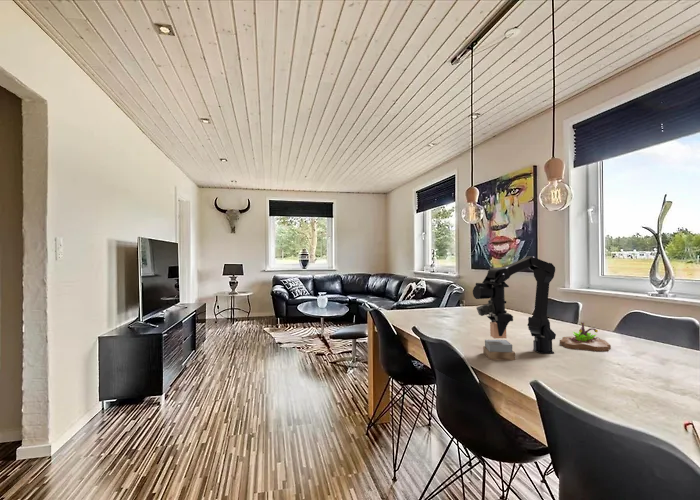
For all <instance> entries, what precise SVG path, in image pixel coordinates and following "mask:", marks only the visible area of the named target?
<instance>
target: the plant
mask: <svg viewBox="0 0 700 500" xmlns="http://www.w3.org/2000/svg"><path fill="white" fill-rule="evenodd" d="M580 325H581V327H580V329H579V330H578V332H576V331H572V334H573V336H572V335H571V336H563V337H562V338H561V339H559V345H560V346H561V345H562V346H561V347H564V348H567V349H572V350H582V351H583V350H585V351H592V352H609V351H610V350H611V348H612V347H611V344H610V343H609V342H608V341H607V340H605V339H602V338H600V337H598V336H597V334H592V333H591V332H589V331H592V330H593V331H594V333H598V329H597V328H596V327H595V328H594V327H593V328H592V327H590V328H588V329H587V330H585V322H584V321H581V322H580Z"/></svg>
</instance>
